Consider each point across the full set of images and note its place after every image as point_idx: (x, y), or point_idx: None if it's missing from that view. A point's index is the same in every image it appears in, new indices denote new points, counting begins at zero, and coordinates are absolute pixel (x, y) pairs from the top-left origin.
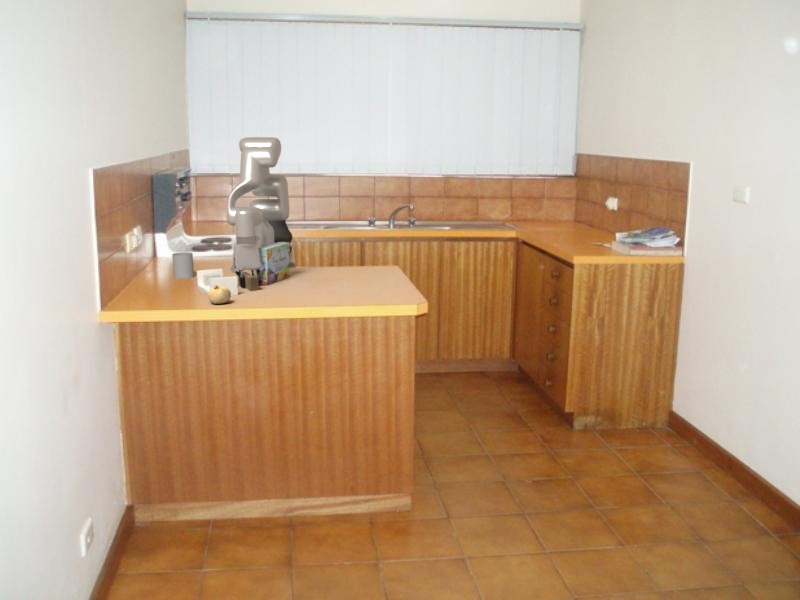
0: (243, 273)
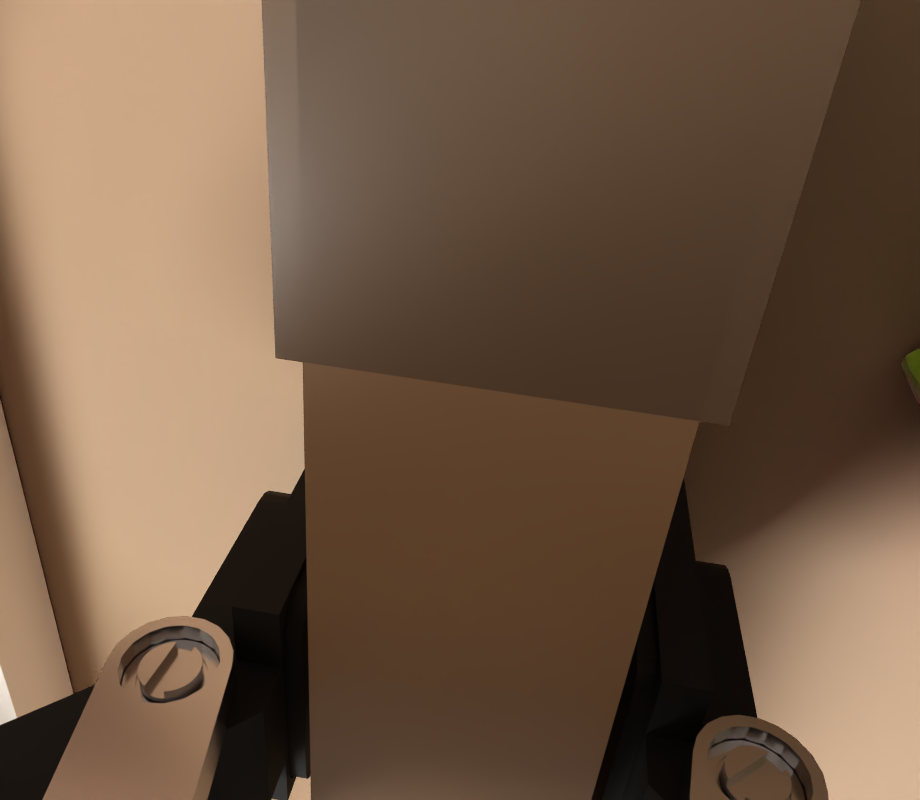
0: (432, 476)
